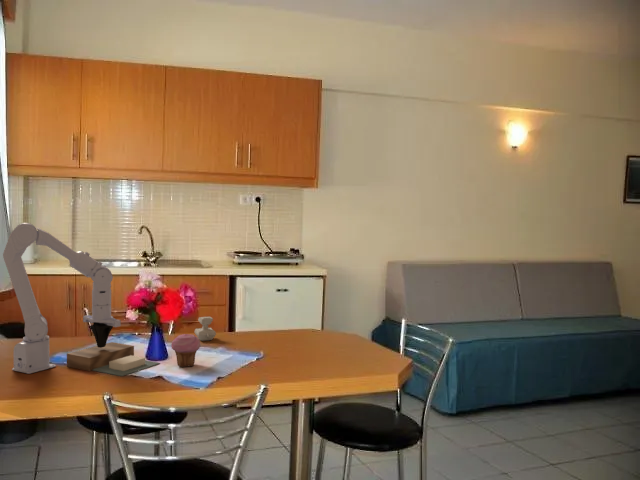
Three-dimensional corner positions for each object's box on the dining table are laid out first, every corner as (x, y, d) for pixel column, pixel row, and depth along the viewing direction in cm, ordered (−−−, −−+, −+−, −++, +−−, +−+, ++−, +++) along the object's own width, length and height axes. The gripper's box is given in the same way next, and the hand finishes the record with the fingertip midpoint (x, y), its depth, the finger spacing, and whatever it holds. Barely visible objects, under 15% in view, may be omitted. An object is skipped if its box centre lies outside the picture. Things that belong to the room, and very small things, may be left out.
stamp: (193, 337, 225) (193, 315, 225) (210, 336, 228) (210, 314, 228) (199, 343, 217) (199, 320, 217) (217, 341, 220) (217, 319, 219)
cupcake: (171, 369, 182) (172, 337, 181) (170, 362, 190) (170, 331, 190) (201, 368, 184) (201, 336, 184) (199, 361, 193) (199, 330, 192)
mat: (121, 376, 174) (121, 375, 174) (92, 370, 180) (92, 369, 180) (159, 363, 188) (159, 362, 188) (131, 358, 194) (131, 357, 194)
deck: (89, 371, 179) (89, 358, 179) (66, 366, 183) (66, 353, 183) (134, 357, 195) (134, 345, 195) (111, 353, 199) (111, 342, 199)
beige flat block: (109, 361, 181) (109, 368, 181) (123, 364, 179) (123, 371, 179) (130, 355, 189) (130, 361, 189) (145, 357, 187) (145, 364, 187)
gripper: (128, 304, 188) (127, 347, 189) (95, 300, 195) (95, 341, 196) (110, 308, 182) (110, 351, 183) (77, 303, 189) (77, 345, 189)
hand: (101, 346), depth 189 cm, fingers closed
